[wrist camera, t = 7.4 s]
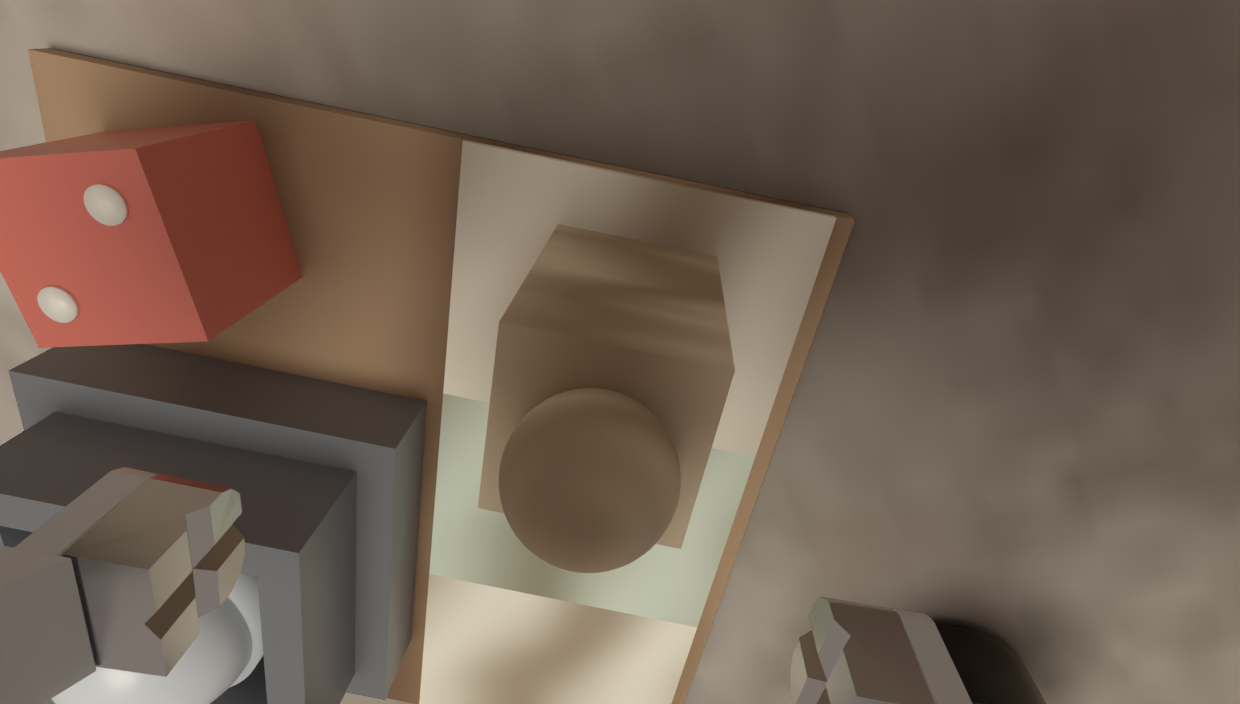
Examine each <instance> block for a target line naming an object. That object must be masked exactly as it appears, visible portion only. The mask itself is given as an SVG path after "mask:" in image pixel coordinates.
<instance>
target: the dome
mask: <svg viewBox="0 0 1240 704" xmlns="http://www.w3.org/2000/svg"><path fill="white" fill-rule="evenodd" d="M198 621H199V632H200V634H199V635H198V636H197V638H196V639H195V640H194V642H193V643H192V644H191V646H190V647H189V648H188V649H187V651H186V652H185V653H184V655H183V656H182V657H181V659H180V660H179V661H178V662H177V664H176V665H175V666H174V668H173V669H172V670H171V671H170V673H169V674H168V675H167V677H164V676H157V675H150V674H143V673H136V672H129V671H122V670H115V669H108V668H101V667H96V669H97V670H96V671H95V672H94V673H92V674H90V675H89V676H87V677H86V678H84V679H82V680H81V681H79V682H77V683H76V684H74V685H73V686H71V687H69V688H68V689H66V690H64V691H63V692H61V693H59V694H58V695H56V696H55V697H53V698H51V699H52V701H53V702H54V703H55V704H210V703H212V702H213V701H214V700H215V699H217V698H218V697H219V696H220V695H221V694H223V693H224V692H225V691H226V690H227V689H228V688H229V687H232V686H234V685H237V684H238V683H240V682H241V681H243V680H244V679H245V678H247V677H248V676H249V675H250V674H251V672H252V671H253V670H254V668H255V667H256V665H257V664H258V662H259V661H260V659H261V658H262V656H263V644H262V631H261V619H260V607H259V594H258V582H257V577H255V576H250V575H245V574H239V577H238V579H237V581H236V583H235V586H234V588H233V590H232V591H231V593H230V594H229V595H228V597H227V598H226V599H225V601H224V602H223V604H222V605H221V606H220V607H218V608H216V609H215V610H213V611H211V612H209V613H207V614H205V615H203V616H201V617H199V618H198Z"/></svg>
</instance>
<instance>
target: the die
mask: <svg viewBox="0 0 1240 704" xmlns="http://www.w3.org/2000/svg"><path fill="white" fill-rule="evenodd" d="M0 271H1V273H2V275H3V277H4V279H5V281H6V283H7V285H8V287H9V289H10V291H11V293H12V295H13V297H14V299H15V301H16V303H17V305H18V307H19V309H20V311H21V313H22V315H23V317H24V319H25V321H26V323H27V325H28V327H29V329H30V331H31V333H32V334H33V336H34V338H35V340H36V342H37V344H38V346H39V348H46V347H72V346H99V345H125V344H152V343H179V342H205V341H210V340H211V339H213V338H214V337H216V336H217V335H218V334H220V333H221V332H223V331H224V330H226V329H227V328H229V327H230V326H232V325H233V324H235V323H236V322H238V321H239V320H241V319H242V318H243V317H245V316H246V315H248V314H249V313H251V312H252V311H254V310H255V309H257V308H258V307H260V306H261V305H263V304H264V303H265V302H267V301H268V300H270V299H271V298H273V297H274V296H276V295H277V294H279V293H280V292H282V291H283V290H285V289H286V288H287V287H289V286H290V285H292V284H293V283H295V282H296V281H298V280H299V279H301V278H302V274H301V270H300V267H299V264H298V260H297V257H296V254H295V250H294V247H293V244H292V240H291V237H290V234H289V230H288V227H287V224H286V220H285V217H284V213H283V210H282V207H281V203H280V200H279V197H278V193H277V190H276V187H275V183H274V180H273V177H272V173H271V170H270V167H269V163H268V160H267V157H266V153H265V150H264V147H263V143H262V140H261V137H260V133H259V130H258V126H257V123H256V120H250V121H237V122H223V123H210V124H196V125H183V126H169V127H156V128H143V129H129V130H116V131H103V132H98V133H93V134H88V135H83V136H77V137H72V138H67V139H62V140H57V141H52V142H46V143H41V144H36V145H31V146H26V147H21V148H15V149H10V150H5V151H0Z"/></svg>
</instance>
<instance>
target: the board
mask: <svg viewBox="0 0 1240 704" xmlns="http://www.w3.org/2000/svg"><path fill="white" fill-rule="evenodd" d="M28 51H29V56H30V62H31V67H32V72H33V77H34V82H35V87H36V92H37V97H38V102H39V107H40V112H41V118H42V123H43V128H44V133H45V138H46V142H52V141H57V140H62V139H67V138H72V137H77V136H83V135H88V134H93V133H98V132H103V131H116V130H129V129H143V128H156V127H169V126H183V125H196V124H210V123H223V122H237V121H250V120H256V123H257V126H258V130H259V133H260V137H261V140H262V143H263V147H264V150H265V153H266V157H267V160H268V163H269V167H270V170H271V173H272V177H273V180H274V183H275V187H276V190H277V193H278V197H279V200H280V203H281V207H282V210H283V213H284V217H285V220H286V224H287V227H288V230H289V234H290V237H291V240H292V244H293V247H294V250H295V254H296V257H297V260H298V264H299V267H300V270H301V274H302V278H301V279H299V280H298V281H296V282H295V283H293V284H292V285H290V286H289V287H287V288H286V289H285V290H283V291H282V292H280V293H279V294H277V295H276V296H274V297H273V298H271V299H270V300H268V301H267V302H265V303H264V304H263V305H261V306H260V307H258V308H257V309H255V310H254V311H252V312H251V313H249V314H248V315H246V316H245V317H243V318H242V319H241V320H239V321H238V322H236V323H235V324H233V325H232V326H230V327H229V328H227V329H226V330H224V331H223V332H221V333H220V334H218V335H217V336H216V337H214V338H213V339H211V340H210V341H205V342H179V343H152V344H147V345H152V346H157V347H162V348H167V349H172V350H177V351H182V352H187V353H192V354H196V355H201V356H206V357H211V358H216V359H221V360H226V361H231V362H236V363H241V364H246V365H251V366H256V367H261V368H266V369H271V370H275V371H280V372H285V373H290V374H295V375H300V376H305V377H310V378H315V379H320V380H325V381H330V382H335V383H340V384H345V385H350V386H354V387H359V388H364V389H369V390H374V391H379V392H384V393H389V394H394V395H399V396H404V397H409V398H414V399H419V400H424V401H427V411H426V427H425V442H424V457H423V473H422V488H421V503H420V519H419V534H418V550H417V565H416V580H415V596H414V611H413V627H412V639H411V642H410V644H409V646H408V648H407V651H406V653H405V655H404V658H403V660H402V662H401V665H400V667H399V669H398V672H397V674H396V676H395V678H394V681H393V683H392V685H391V688H390V690H389V692H388V695H387V697H386V698H389V699H395V700H400V701H405V702H410V703H415V704H684V703H685V700H686V697H687V695H688V692H689V689H690V686H691V683H692V681H693V678H694V675H695V672H696V669H697V666H698V664H699V661H700V658H701V655H702V652H703V649H704V647H705V644H706V641H707V638H708V635H709V632H710V630H711V627H712V624H713V621H714V618H715V615H716V613H717V610H718V607H719V604H720V601H721V598H722V596H723V593H724V590H725V587H726V584H727V582H728V579H729V576H730V573H731V570H732V567H733V565H734V562H735V559H736V556H737V553H738V550H739V548H740V545H741V542H742V539H743V536H744V533H745V531H746V528H747V525H748V522H749V519H750V516H751V514H752V511H753V508H754V505H755V502H756V500H757V497H758V494H759V491H760V488H761V485H762V483H763V480H764V477H765V474H766V471H767V468H768V466H769V463H770V460H771V457H772V454H773V451H774V449H775V446H776V443H777V440H778V437H779V434H780V432H781V429H782V426H783V423H784V420H785V417H786V415H787V412H788V409H789V406H790V403H791V401H792V398H793V395H794V392H795V389H796V386H797V384H798V381H799V378H800V375H801V372H802V369H803V367H804V364H805V361H806V358H807V355H808V352H809V350H810V347H811V344H812V341H813V338H814V335H815V333H816V330H817V327H818V324H819V321H820V319H821V316H822V313H823V310H824V307H825V304H826V302H827V299H828V296H829V293H830V290H831V287H832V285H833V282H834V279H835V276H836V273H837V270H838V268H839V265H840V262H841V259H842V256H843V253H844V251H845V248H846V245H847V242H848V239H849V236H850V234H851V231H852V228H853V225H854V222H855V220H854V219H853V218H852V216H851V215H850V214H847V213H842V212H837V211H832V210H827V209H823V208H818V207H813V206H808V205H803V204H799V203H794V202H789V201H784V200H779V199H774V198H770V197H765V196H760V195H755V194H750V193H745V192H741V191H736V190H731V189H726V188H721V187H716V186H712V185H707V184H702V183H697V182H692V181H687V180H683V179H678V178H673V177H668V176H663V175H658V174H654V173H649V172H644V171H639V170H634V169H629V168H625V167H620V166H615V165H610V164H605V163H600V162H596V161H591V160H586V159H581V158H576V157H572V156H567V155H562V154H557V153H552V152H547V151H543V150H538V149H533V148H528V147H523V146H518V145H514V144H509V143H504V142H499V141H494V140H489V139H485V138H480V137H475V136H470V135H465V134H460V133H456V132H451V131H446V130H441V129H436V128H431V127H427V126H422V125H417V124H412V123H407V122H402V121H398V120H393V119H388V118H383V117H378V116H374V115H369V114H364V113H359V112H354V111H349V110H345V109H340V108H335V107H330V106H325V105H320V104H316V103H311V102H306V101H301V100H296V99H291V98H287V97H282V96H277V95H272V94H267V93H262V92H258V91H253V90H248V89H243V88H238V87H233V86H229V85H224V84H219V83H214V82H209V81H204V80H200V79H195V78H190V77H185V76H180V75H176V74H171V73H166V72H161V71H156V70H151V69H147V68H142V67H137V66H132V65H127V64H122V63H118V62H113V61H108V60H103V59H98V58H93V57H89V56H84V55H79V54H74V53H69V52H64V51H60V50H55V49H50V48H47V49H28ZM558 224H561V225H566V226H570V227H575V228H580V229H585V230H590V231H595V232H600V233H604V234H609V235H614V236H619V237H624V238H629V239H634V240H638V241H643V242H648V243H653V244H658V245H663V246H668V247H672V248H677V249H682V250H687V251H692V252H697V253H702V254H706V255H711V256H716V257H717V258H718V264H719V271H720V277H721V284H722V290H723V296H724V303H725V309H726V316H727V322H728V329H729V335H730V341H731V348H732V354H733V361H734V367H735V372H734V375H733V379H732V382H731V385H730V389H729V392H728V395H727V399H726V402H725V405H724V408H723V412H722V415H721V418H720V422H719V425H718V428H717V432H716V435H715V438H714V442H713V445H712V448H711V452H710V455H709V458H708V462H707V465H706V468H705V471H704V475H703V478H702V481H701V485H700V488H699V491H698V495H697V498H696V501H695V505H694V508H693V511H692V515H691V518H690V521H689V525H688V528H687V531H686V534H685V538H684V541H683V544H682V548H681V549H678V548H673V547H668V546H664V545H659V544H655V545H654V546H653V547H652V548H651V549H650V550H649V551H648V552H647V553H645V554H644V555H642V556H641V557H640V558H638V559H637V560H635V561H633V562H631V563H630V564H628V565H625V566H623V567H620V568H618V569H614V570H610V571H606V572H600V573H578V572H571V571H567V570H563V569H560V568H558V567H555V566H553V565H551V564H549V563H547V562H545V561H543V560H542V559H540V558H539V557H537V556H536V555H535V554H533V553H532V552H531V551H529V550H528V549H527V548H526V547H525V546H524V545H523V544H522V542H521V541H520V540H519V539H518V537H517V536H516V535H515V533H514V532H513V530H512V529H511V527H510V525H509V523H508V521H507V519H506V516H505V514H504V513H499V512H494V511H489V510H484V509H479V508H478V500H479V492H480V483H481V474H482V466H483V457H484V448H485V439H486V431H487V422H488V413H489V405H490V396H491V387H492V378H493V370H494V361H495V352H496V344H497V335H498V326H499V321H500V320H501V318H502V316H503V315H504V313H505V311H506V310H507V308H508V306H509V305H510V303H511V301H512V300H513V298H514V296H515V295H516V293H517V291H518V290H519V288H520V286H521V285H522V283H523V281H524V280H525V278H526V276H527V275H528V273H529V271H530V270H531V268H532V266H533V265H534V263H535V261H536V260H537V258H538V256H539V255H540V253H541V251H542V250H543V248H544V246H545V245H546V243H547V241H548V240H549V238H550V236H551V235H552V233H553V231H554V230H555V228H556V226H557V225H558Z"/></svg>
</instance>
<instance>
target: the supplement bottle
mask: <svg viewBox="0 0 1240 704" xmlns="http://www.w3.org/2000/svg"><path fill="white" fill-rule="evenodd" d="M935 625H936V627H937V629H938V631H939V633H940V636H941V638H942V640H943V642H944V644H945V646H946V648H947V650H948V653H949V655H950V657H951V659H952V661H953V663H954V665H955V667H956V670H957V672H958V674H959V676H960V678H961V680H962V682H963V684H964V687H965V689H966V691H967V693H968V695H969V697H970V699H971V702H972V704H1046V702H1045V700H1044V698H1043V697H1042V695H1041V693H1040V692H1039V690H1038V688H1037V686H1036V685H1035V683H1034V681H1033V679H1032V677H1031V676H1030V674H1029V672H1028V671H1027V669H1026V668H1025V666H1024V665H1023V663H1022V662H1021V661H1020V660H1019V658H1018V657H1017V656H1016V655H1015V654H1014V653H1013V652H1012V651H1011V650H1009V649H1008V648H1007V647H1005V646H1004V645H1003V644H1001V643H999V642H998V641H996V640H995V639H993V638H991V637H989V636H987V635H984V634H982V633H979V632H977V631H974V630H971V629H967V628H963V627H958V626H952V625H942V624H935Z"/></svg>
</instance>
